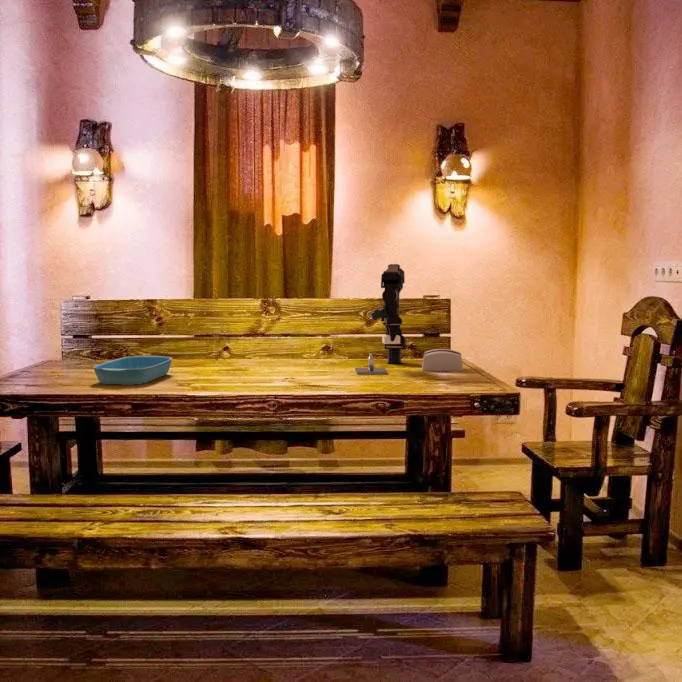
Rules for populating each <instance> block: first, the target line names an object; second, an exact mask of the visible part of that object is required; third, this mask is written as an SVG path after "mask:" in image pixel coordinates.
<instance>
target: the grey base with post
mask: <svg viewBox="0 0 682 682" xmlns="http://www.w3.org/2000/svg"><path fill="white" fill-rule="evenodd" d="M354 371H355V373H356V375H359V376H360V375H388V370H387V369H386V368H385V367H382V366H381V367H374V357H373V353H369V354H368V357H367V367H354Z"/></svg>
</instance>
